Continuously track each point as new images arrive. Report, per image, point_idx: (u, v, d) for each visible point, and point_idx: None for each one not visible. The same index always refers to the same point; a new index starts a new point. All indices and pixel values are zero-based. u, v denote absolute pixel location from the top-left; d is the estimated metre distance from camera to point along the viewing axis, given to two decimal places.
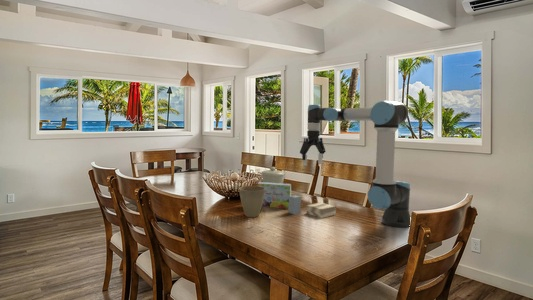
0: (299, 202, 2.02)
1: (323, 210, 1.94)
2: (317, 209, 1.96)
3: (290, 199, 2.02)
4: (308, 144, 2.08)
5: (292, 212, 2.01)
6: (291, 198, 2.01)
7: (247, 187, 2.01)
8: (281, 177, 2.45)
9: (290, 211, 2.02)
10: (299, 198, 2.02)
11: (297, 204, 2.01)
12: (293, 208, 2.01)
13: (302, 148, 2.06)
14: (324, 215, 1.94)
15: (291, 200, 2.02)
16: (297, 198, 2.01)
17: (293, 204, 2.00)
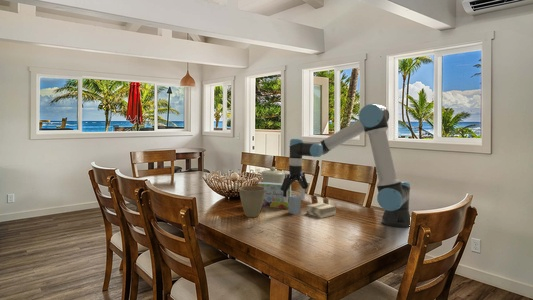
0: (299, 202, 2.02)
1: (323, 210, 1.94)
2: (317, 209, 1.96)
3: (290, 199, 2.02)
4: (289, 180, 1.99)
5: (292, 212, 2.01)
6: (291, 198, 2.01)
7: (247, 187, 2.01)
8: (281, 177, 2.45)
9: (290, 211, 2.02)
10: (299, 198, 2.02)
11: (297, 204, 2.01)
12: (293, 208, 2.01)
13: (283, 185, 1.96)
14: (324, 215, 1.94)
15: (291, 200, 2.02)
16: (297, 198, 2.01)
17: (293, 204, 2.00)
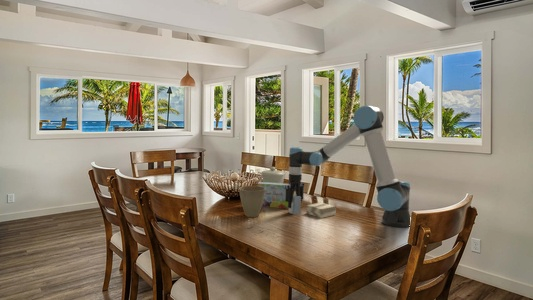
0: (299, 202, 2.02)
1: (323, 210, 1.94)
2: (317, 209, 1.96)
3: None
4: (291, 190, 2.01)
5: None
6: None
7: (247, 187, 2.01)
8: (281, 177, 2.45)
9: None
10: (299, 198, 2.02)
11: (296, 204, 2.01)
12: (293, 208, 2.01)
13: (286, 196, 1.99)
14: (324, 215, 1.94)
15: None
16: (297, 198, 2.01)
17: (293, 204, 2.00)
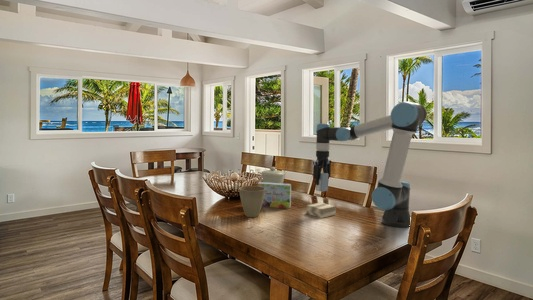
0: (327, 179, 1.99)
1: (323, 210, 1.94)
2: (317, 209, 1.96)
3: None
4: (318, 167, 1.98)
5: (320, 189, 1.98)
6: None
7: (247, 187, 2.01)
8: (281, 177, 2.45)
9: None
10: (327, 175, 1.99)
11: (324, 181, 1.98)
12: None
13: (314, 173, 1.96)
14: (324, 215, 1.94)
15: None
16: (325, 175, 1.98)
17: (321, 181, 1.97)
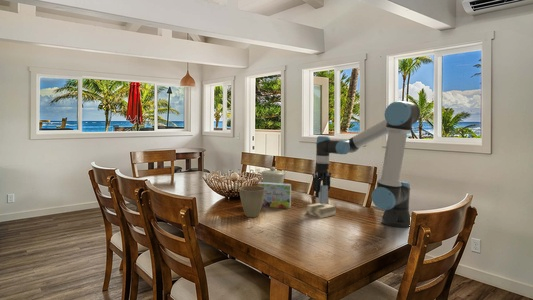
0: (326, 191, 2.00)
1: (323, 210, 1.94)
2: (317, 209, 1.96)
3: None
4: (318, 179, 1.98)
5: None
6: None
7: (247, 187, 2.01)
8: (281, 177, 2.45)
9: None
10: (326, 187, 1.99)
11: (324, 193, 1.98)
12: (320, 198, 1.98)
13: (314, 185, 1.97)
14: (324, 215, 1.94)
15: None
16: (324, 187, 1.98)
17: (320, 193, 1.98)
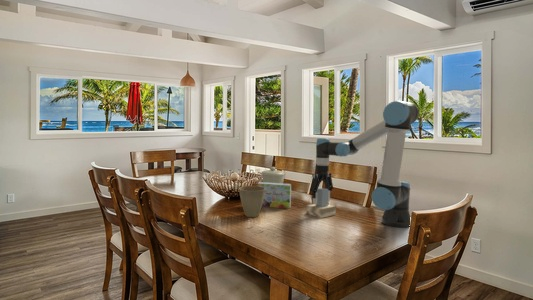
0: (326, 195, 2.00)
1: (323, 210, 1.94)
2: (317, 209, 1.96)
3: (317, 192, 2.00)
4: (317, 180, 1.98)
5: (319, 205, 1.99)
6: (318, 191, 1.99)
7: (247, 187, 2.01)
8: (281, 177, 2.45)
9: (317, 204, 2.00)
10: (326, 191, 1.99)
11: (324, 197, 1.98)
12: (320, 201, 1.98)
13: (312, 186, 1.95)
14: (324, 215, 1.94)
15: (318, 193, 1.99)
16: (325, 190, 1.98)
17: (321, 197, 1.98)
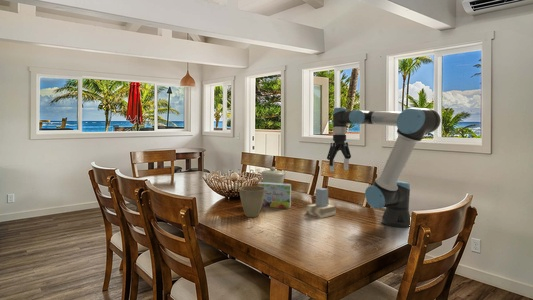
0: (326, 195, 2.00)
1: (323, 210, 1.94)
2: (317, 209, 1.96)
3: (317, 192, 2.00)
4: (335, 149, 1.98)
5: (319, 205, 1.99)
6: (318, 191, 1.99)
7: (247, 187, 2.01)
8: (281, 177, 2.45)
9: (317, 204, 2.00)
10: (326, 191, 1.99)
11: (324, 197, 1.98)
12: (320, 201, 1.98)
13: (329, 153, 1.95)
14: (324, 215, 1.94)
15: (318, 193, 1.99)
16: (325, 190, 1.98)
17: (321, 197, 1.98)
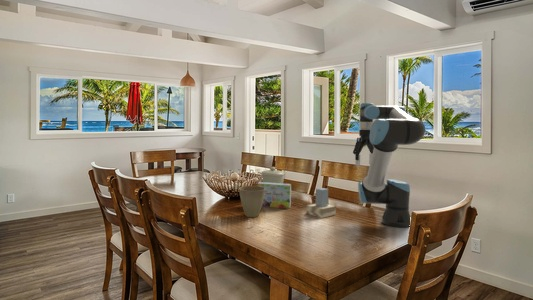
0: (326, 195, 2.00)
1: (323, 210, 1.94)
2: (317, 209, 1.96)
3: (317, 192, 2.00)
4: (361, 144, 2.02)
5: (319, 205, 1.99)
6: (318, 191, 1.99)
7: (247, 187, 2.01)
8: (281, 177, 2.45)
9: (317, 204, 2.00)
10: (326, 191, 1.99)
11: (324, 197, 1.98)
12: (320, 201, 1.98)
13: (355, 148, 1.99)
14: (324, 215, 1.94)
15: (318, 193, 1.99)
16: (325, 190, 1.98)
17: (321, 197, 1.98)
